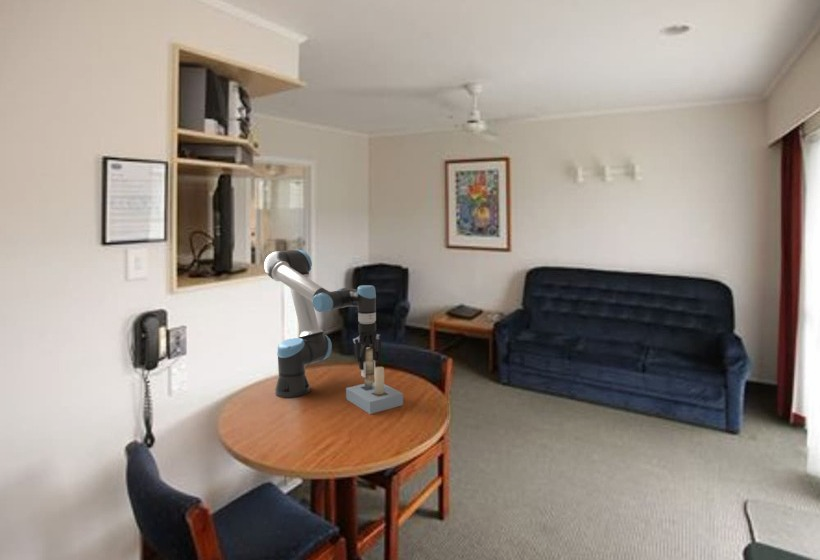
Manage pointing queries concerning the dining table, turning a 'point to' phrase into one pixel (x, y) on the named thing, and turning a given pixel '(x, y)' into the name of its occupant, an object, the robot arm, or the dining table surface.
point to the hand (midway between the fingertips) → (368, 375)
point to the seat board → (375, 394)
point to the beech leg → (369, 366)
